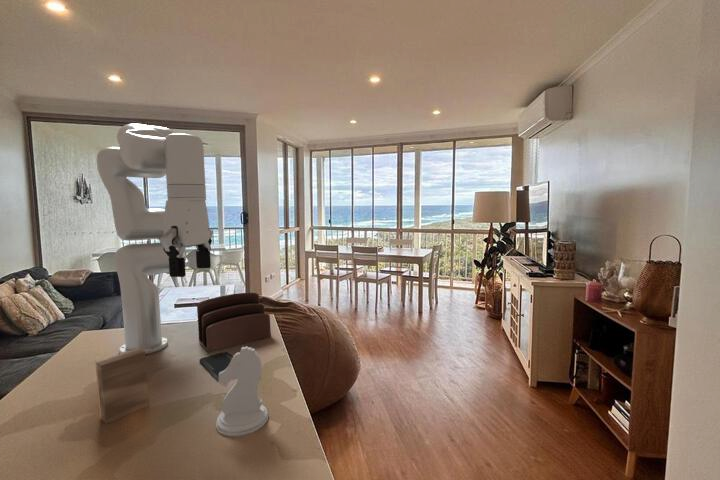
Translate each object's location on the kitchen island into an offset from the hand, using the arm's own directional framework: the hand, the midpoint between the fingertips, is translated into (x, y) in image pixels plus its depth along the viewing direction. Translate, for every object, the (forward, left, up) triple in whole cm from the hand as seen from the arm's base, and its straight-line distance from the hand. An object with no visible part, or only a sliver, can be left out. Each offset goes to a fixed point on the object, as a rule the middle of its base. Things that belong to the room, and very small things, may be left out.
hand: (191, 272), depth 79 cm
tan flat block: (-6, -13, -28) cm, 31 cm away
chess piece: (+17, -1, -28) cm, 33 cm away
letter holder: (-21, +25, -29) cm, 44 cm away
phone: (-8, +11, -29) cm, 32 cm away
